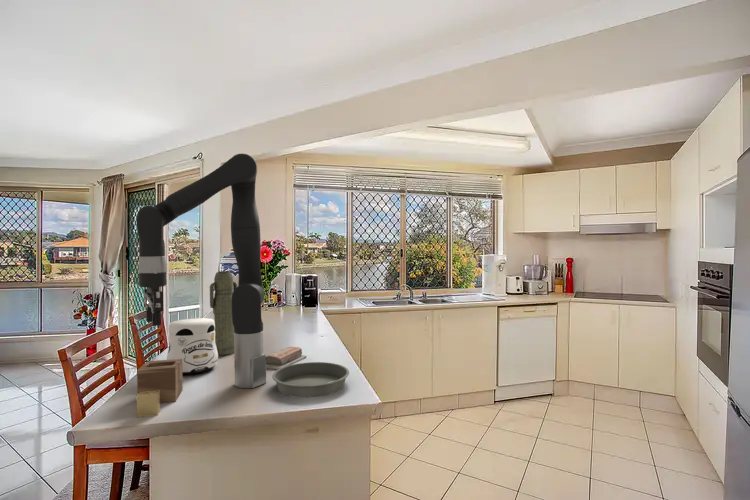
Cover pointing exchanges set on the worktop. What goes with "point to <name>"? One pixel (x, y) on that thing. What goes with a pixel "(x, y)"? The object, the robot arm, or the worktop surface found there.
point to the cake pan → (310, 379)
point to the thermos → (223, 311)
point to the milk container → (193, 344)
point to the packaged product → (284, 358)
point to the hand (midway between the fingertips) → (153, 323)
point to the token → (148, 403)
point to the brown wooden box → (161, 378)
